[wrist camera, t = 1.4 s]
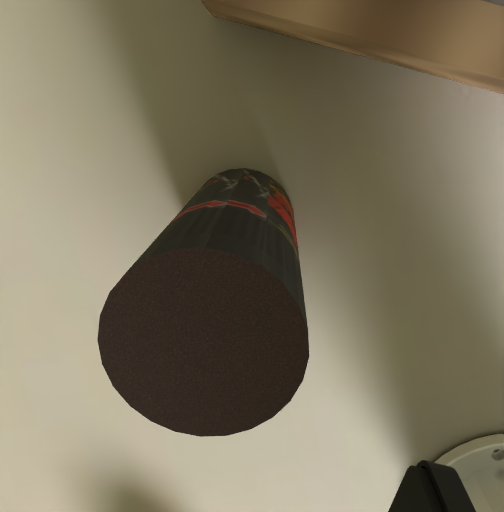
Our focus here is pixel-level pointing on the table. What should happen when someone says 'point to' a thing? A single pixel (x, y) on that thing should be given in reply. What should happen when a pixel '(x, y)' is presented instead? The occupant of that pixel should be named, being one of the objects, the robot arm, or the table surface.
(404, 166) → the table surface
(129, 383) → the deodorant
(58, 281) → the table surface
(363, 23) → the display stand
